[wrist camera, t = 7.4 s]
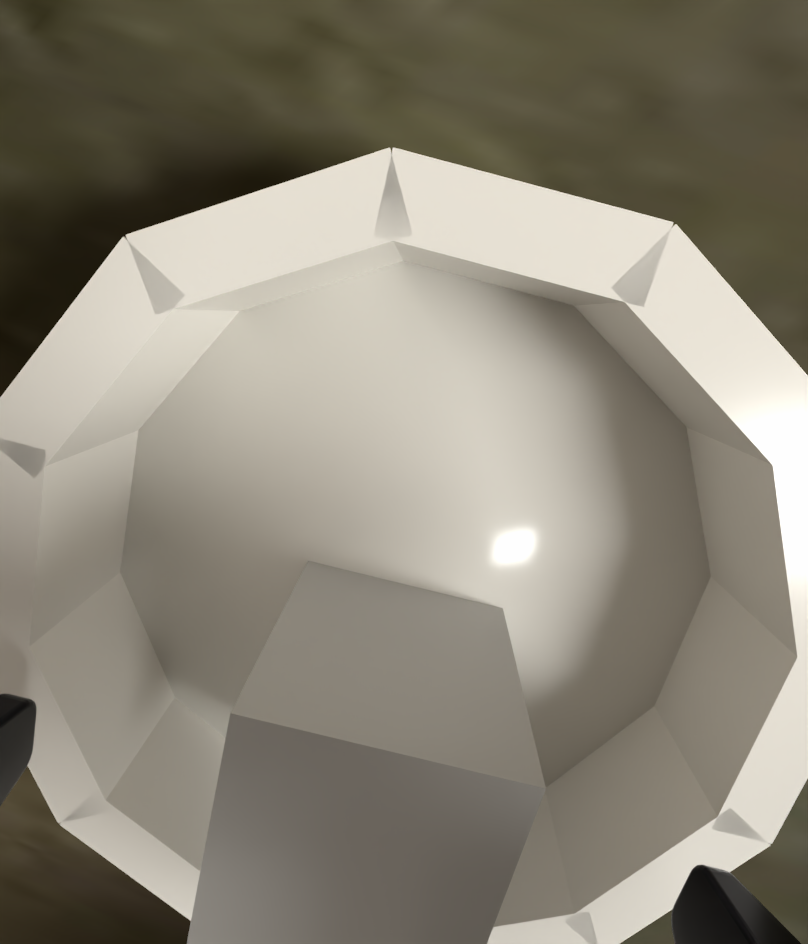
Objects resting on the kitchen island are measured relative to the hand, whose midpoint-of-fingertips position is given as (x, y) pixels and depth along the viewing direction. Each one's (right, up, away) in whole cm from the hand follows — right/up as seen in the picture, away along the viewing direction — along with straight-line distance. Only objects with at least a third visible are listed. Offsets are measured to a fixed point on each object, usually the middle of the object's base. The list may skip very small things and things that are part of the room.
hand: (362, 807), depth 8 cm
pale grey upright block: (0, +1, +3) cm, 3 cm away
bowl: (+1, +3, +3) cm, 4 cm away
